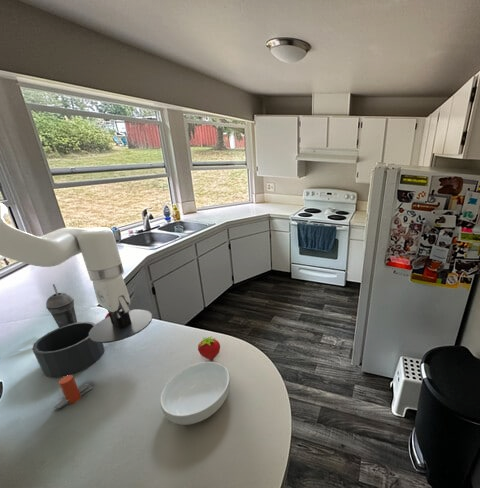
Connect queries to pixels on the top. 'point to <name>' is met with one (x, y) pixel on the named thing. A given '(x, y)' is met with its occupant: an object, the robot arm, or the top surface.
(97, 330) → the lid
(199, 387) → the cereal bowl
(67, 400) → the blade
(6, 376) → the top surface
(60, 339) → the processor bowl
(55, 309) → the beverage cup
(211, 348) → the strawberry
